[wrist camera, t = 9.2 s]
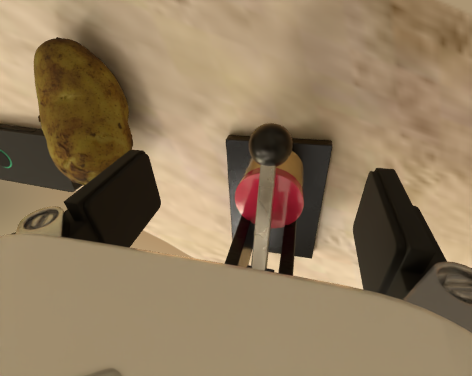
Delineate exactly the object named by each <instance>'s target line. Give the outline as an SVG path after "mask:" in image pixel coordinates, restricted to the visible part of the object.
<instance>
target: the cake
mask: <svg viewBox="0 0 472 376" xmlns="http://www.w3.org/2000/svg"><path fill="white" fill-rule="evenodd" d="M259 176H260V165H259V164H258V163H256V162H255V161H254V160H253V158H252V157H251V159H250V161H249V163H248V165H247V168H246V170H245V173H244V175H243V177H242V179H241V180H240V182H239V184H238V186H237V189H236V191H235V203H236V206H237V208H238V210H239V212H240V213H241V215H242V216H243V217H244V218H245V219H247V220H250V221H251V223H253V224H255V220H256V209H257V198H258V187H259ZM303 181H304V167H303V163H302V161H301V159H300V158H299V157H298V155H297V154H296V153H294V152H293V151H292V152H291V155H290V156H289V158H288V159H287V160H286V161H285V162H284V163H283V164H281V165H280V166H277V167H276V177H275V187H274V198H273V208H272V219H271V228H281V227H284V225H290V224H291V223H293V222H294V221H296V220H297V219H298V217H299V216H300V215H301V213H302V211H303V207H304V192H303Z"/></svg>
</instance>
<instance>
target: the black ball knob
mask: <svg viewBox="0 0 472 376" xmlns="http://www.w3.org/2000/svg"><path fill="white" fill-rule="evenodd" d="M292 148H293V141H292V138H291V135H290V133H289V132H288V131H287V130H286V129H285V128H284V127H283V126H281V125H278V124H274V123H268V124H264V125H261V126H260V127H258V128H257V129H256V130H255V131H254V132H253V133H252V135H251V137H250V140H249V152H250V155H251V157H252V158H253V160H254V161H255V162H256V163H258V164H259V165H260V176H259V187H258V198H257V209H256V220H255V231H254V242H253V253H252V264H251V266H248V265H247V267H246V268H251V269H257V270H263V271H268V272H274V270H272V269H267V261H268V250H269V240H270V229H271V219H272V208H273V198H274V187H275V177H276V167H277V166H280V165H281V164H283V163H284V162H285V161H286V160H287V159H288V158H289V156H290V155H291V152H292Z"/></svg>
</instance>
